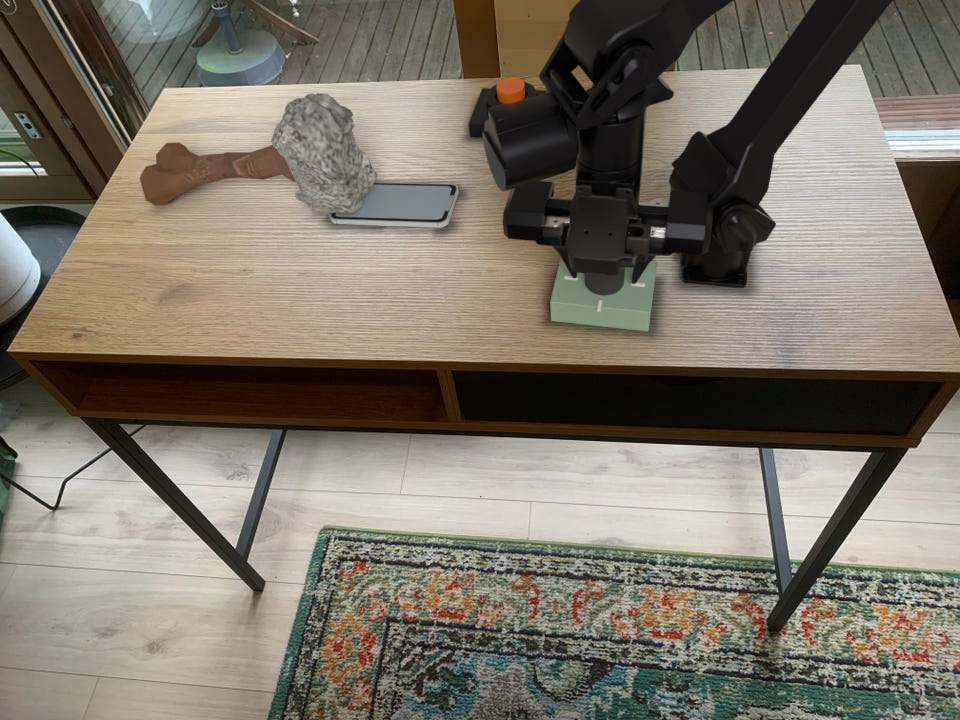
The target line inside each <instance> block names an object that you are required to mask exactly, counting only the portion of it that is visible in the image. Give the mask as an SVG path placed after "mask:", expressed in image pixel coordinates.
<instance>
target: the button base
mask: <svg viewBox="0 0 960 720" xmlns="http://www.w3.org/2000/svg"><path fill="white" fill-rule="evenodd" d="M522 81H523V82H524V84H525V98H524V100H525V99H529V98H532V97H536V96H539V95H542V94H546V90H543V89H542V90H540V89H539V90H538V89H536V88H535V86H534V85H533V84H531V83H529V82H527V81H524V80H522ZM497 84H498V83H495V85H493V86H492V87H489V88H488V87H487V88H486V87H482V88H481V91H480V93H479V95H478V98H477V101H476V103H475V105H474V108H473V111H472V112H471V113H472V114H471V116H470V118H469V121H468V131H469V137H470V138H476V139H477V138H478V139H483V137H482V132H484V125H485V122H486V120H489V115H488V110H489V108H490V107H493V106H497V105H500V104H502V103H500V102H499V101H498V98H497V88H496V86H497Z"/></svg>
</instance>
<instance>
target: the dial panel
mask: <svg viewBox="0 0 960 720" xmlns="http://www.w3.org/2000/svg"><path fill="white" fill-rule="evenodd" d="M657 267H658V262H657V261H651V262H650V263H649V264H648V266H647V267H646V269H645V270H644V272H643V273H642V275H641V276H640V278H639V280H638V281H637V283H636V284H632V273H633V268H632V267H631V268H629V267H625V276H624V285H623V287H622V288H621V289H620V290H619V291H618V292H616V293H614V294H612V295H597V294H594V293H592V292H591V291H589V290H588V289H587V287H586V285H585V281H584V280H585V273H578V275H577V278H572V276H571V274H570V272H569V271H568V269H567V267H566V265H565V263H564V262H563V260H562V258H561V257H560V258H559V263H558V266H557V272H556V274H555V275H556V276H555V279H554V283H553V288H552V292H551V297H550V300H549V303H550V304H549V305H550V306H549V308H550V309H549V310H550V321H551V322H557V323H558V322H559V323H567V324H576V325H577V324H578V325H586V326H593V327H603V328H613V329H623V330H631V331H632V330H633V331H639V332H649V331H650V323H651V315H652V307H653V299H654V292H655V285H656V277H657Z"/></svg>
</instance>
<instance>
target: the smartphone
mask: <svg viewBox="0 0 960 720" xmlns="http://www.w3.org/2000/svg"><path fill="white" fill-rule="evenodd" d="M458 197H459V186H458V185H457V184H455V183H452V182H451V183H449V182H448V183H447V182H446V183H444V182H407V181H405V182H403V181H402V182H400V181H375V182H374V185H373V187H372V188H371V190H370V191H369V192H368V193H367V194H366V195H365V196H364V203H363V207H361V208H360V209H359V210H357V211H356V212H354V213H353V214H350V213H344V212H338V213H329V219H330V222H332V223H333V224H335V225H355V226H356V225H357V226H384V227H410V228H411V227H412V228H433V229H434V228H436V229H437V228H438V229H441V228H444V227H446V226H448V225H449V224H450V221H451V218H452V214H453V212H454V209H455V205H456V203H457V199H458Z"/></svg>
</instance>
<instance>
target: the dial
mask: <svg viewBox="0 0 960 720" xmlns="http://www.w3.org/2000/svg"><path fill="white" fill-rule="evenodd" d="M624 276H625V267H624V270H623V271H622V272H621V273H620V274H618V275H615V276H609V275H605V274H597V273H585V280H584V281H585V285H586V287H587V289H588V290H589V291H591V292H592V293H594V294H597V295H612V294H614V293H616V292H618V291H619V290H620V289H621V288H622V287H623V285H624Z"/></svg>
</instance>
